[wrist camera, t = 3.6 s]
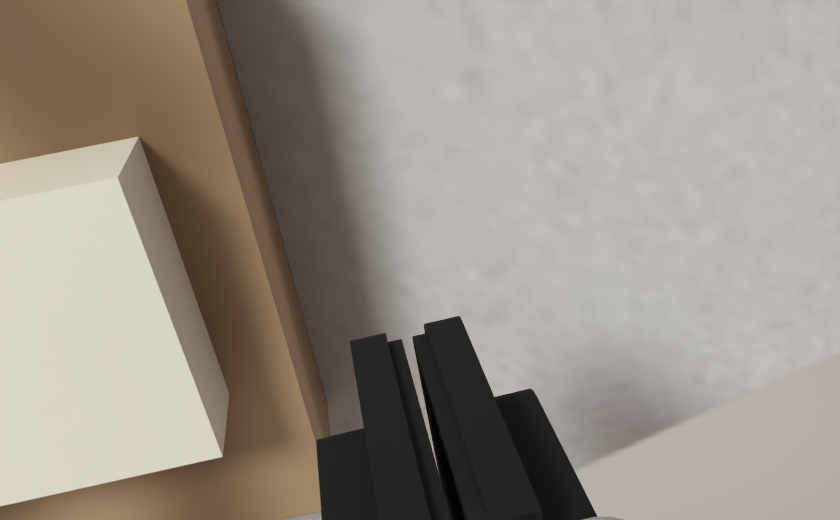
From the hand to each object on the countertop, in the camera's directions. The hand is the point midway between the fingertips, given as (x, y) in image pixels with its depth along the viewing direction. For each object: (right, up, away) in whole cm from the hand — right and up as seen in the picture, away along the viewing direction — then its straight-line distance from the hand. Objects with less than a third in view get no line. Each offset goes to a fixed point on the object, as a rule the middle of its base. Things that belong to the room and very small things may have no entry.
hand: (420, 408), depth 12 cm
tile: (-9, +1, +4) cm, 10 cm away
